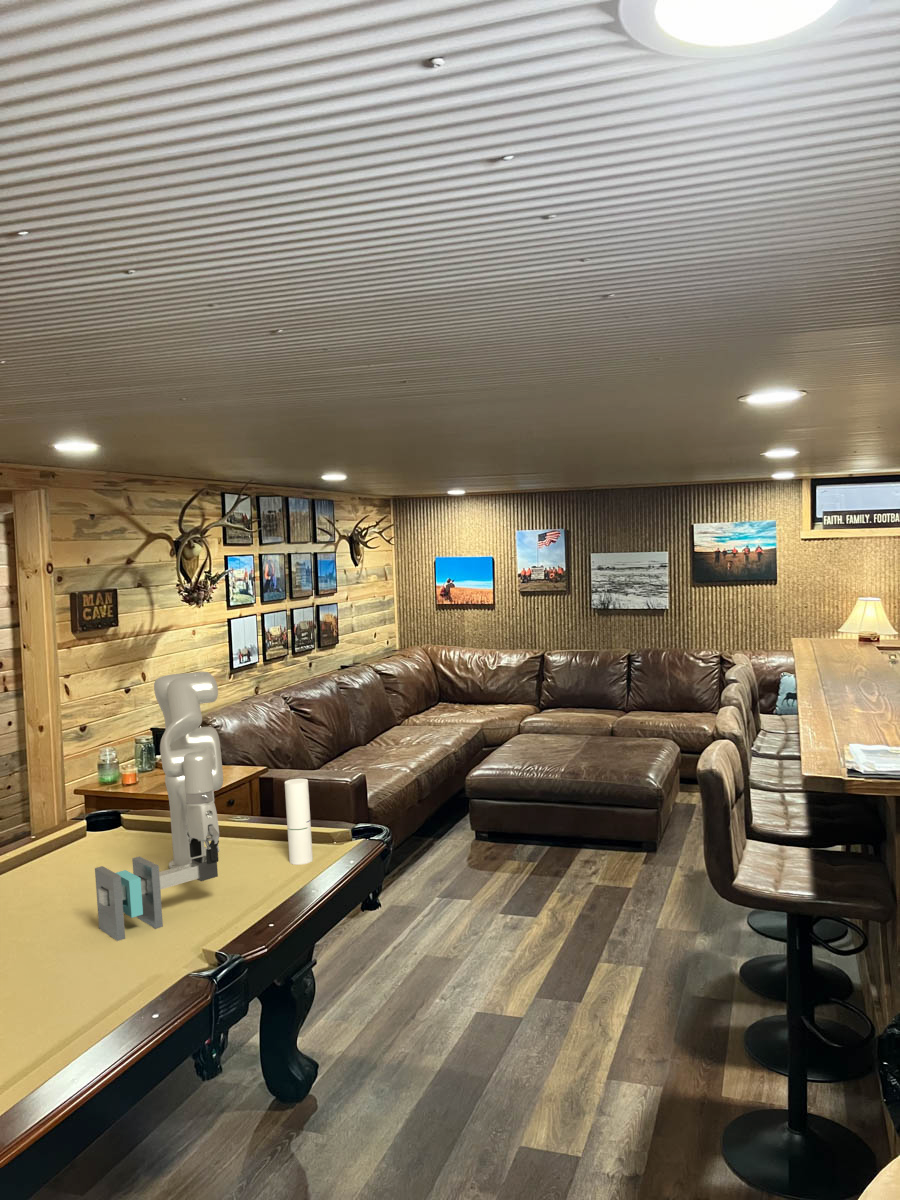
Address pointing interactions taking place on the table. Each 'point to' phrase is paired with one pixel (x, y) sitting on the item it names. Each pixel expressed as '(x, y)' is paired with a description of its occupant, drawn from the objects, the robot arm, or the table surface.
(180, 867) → the shaft
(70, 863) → the table surface
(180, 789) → the robot arm
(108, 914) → the pair of grey plates
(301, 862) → the cylindrical container
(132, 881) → the spacer
